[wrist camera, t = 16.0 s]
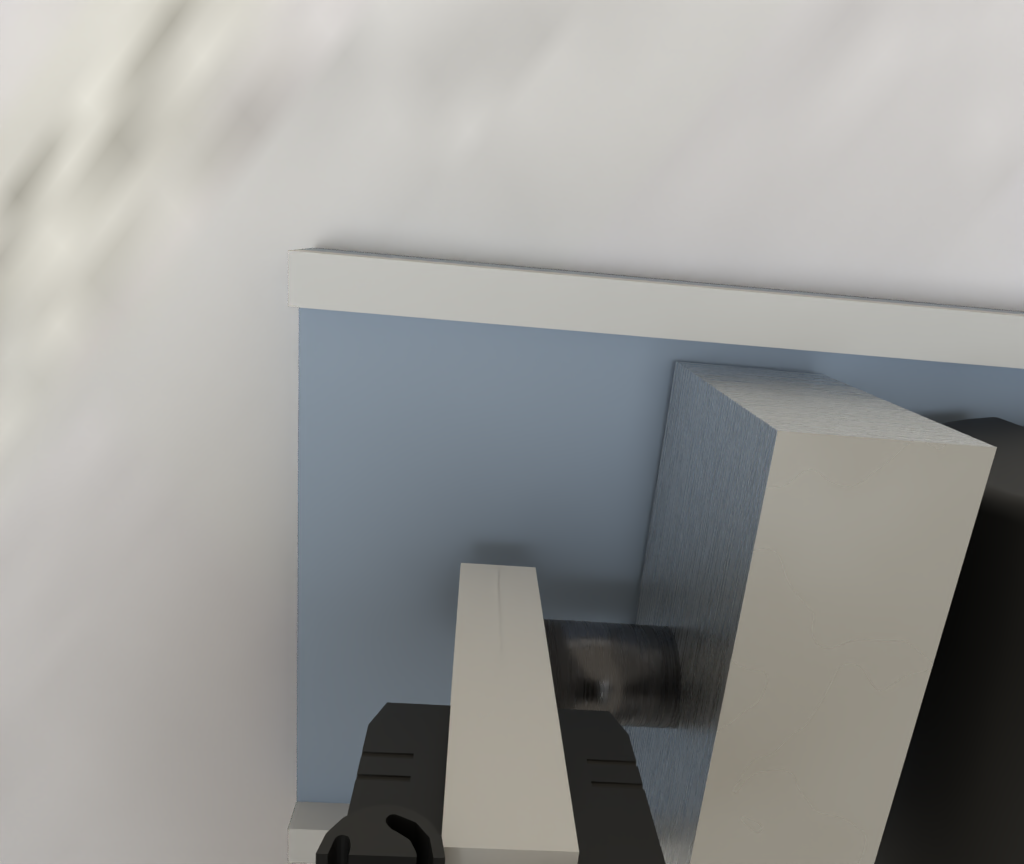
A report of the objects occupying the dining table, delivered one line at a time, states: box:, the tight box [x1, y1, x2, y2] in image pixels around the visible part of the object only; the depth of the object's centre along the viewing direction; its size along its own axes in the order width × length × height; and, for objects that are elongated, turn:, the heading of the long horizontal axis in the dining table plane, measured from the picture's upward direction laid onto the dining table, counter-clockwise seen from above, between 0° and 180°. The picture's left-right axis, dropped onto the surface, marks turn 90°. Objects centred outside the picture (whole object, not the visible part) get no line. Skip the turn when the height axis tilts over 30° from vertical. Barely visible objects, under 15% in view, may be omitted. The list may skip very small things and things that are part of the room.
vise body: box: [288, 248, 1024, 864], centre depth 14 cm, size 14×26×6 cm, turn 85°
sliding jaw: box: [543, 361, 997, 864], centre depth 13 cm, size 11×6×5 cm, turn 175°
